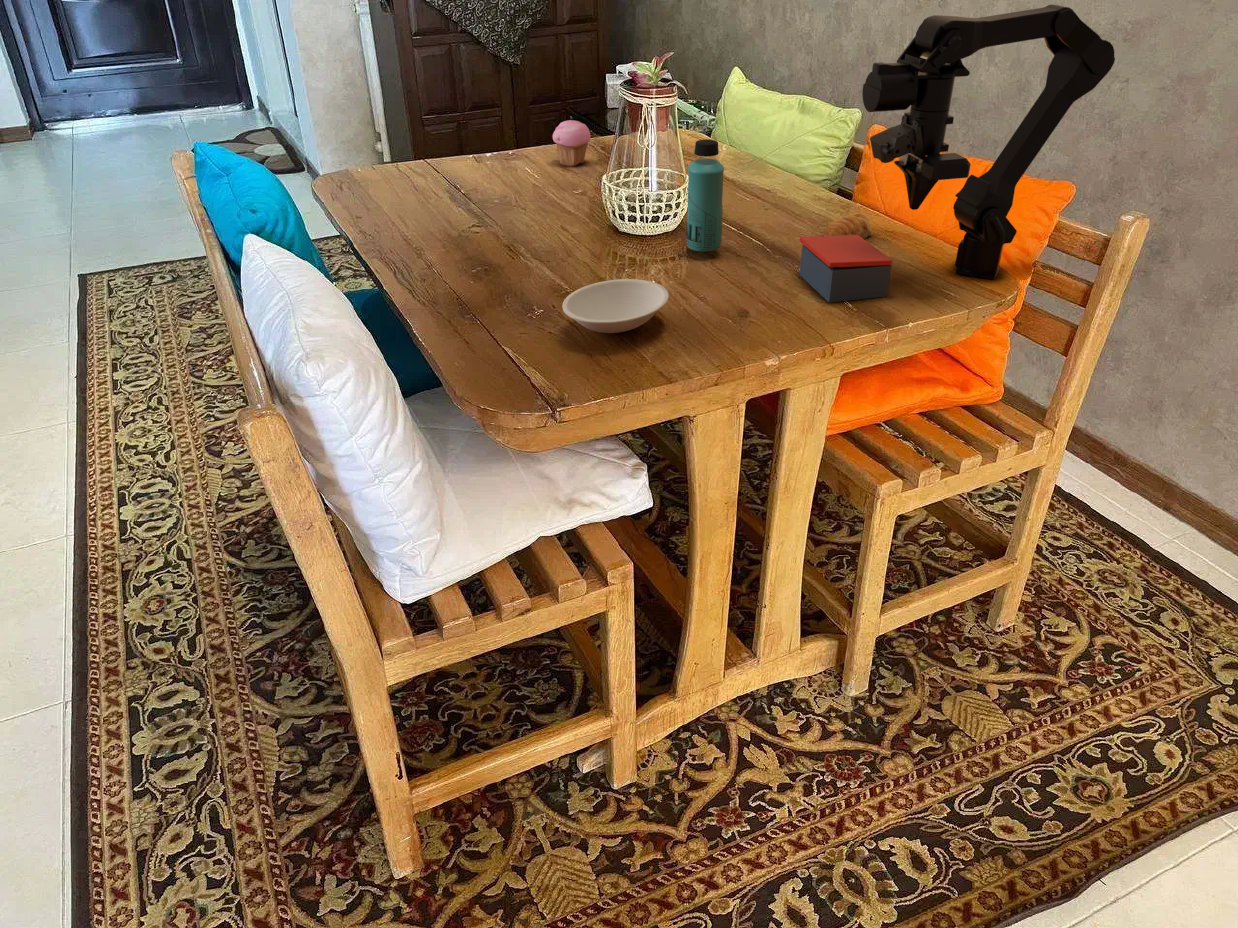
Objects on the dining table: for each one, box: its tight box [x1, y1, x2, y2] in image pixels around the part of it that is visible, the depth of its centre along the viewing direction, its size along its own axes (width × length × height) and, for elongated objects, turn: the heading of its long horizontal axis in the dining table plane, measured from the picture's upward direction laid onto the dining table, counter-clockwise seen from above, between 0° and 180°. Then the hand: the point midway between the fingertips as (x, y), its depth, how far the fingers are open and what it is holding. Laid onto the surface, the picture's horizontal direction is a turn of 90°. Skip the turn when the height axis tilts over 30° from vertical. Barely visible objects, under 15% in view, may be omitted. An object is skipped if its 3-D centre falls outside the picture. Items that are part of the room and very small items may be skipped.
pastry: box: [823, 212, 873, 239], centre depth 172 cm, size 9×7×4 cm
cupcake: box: [552, 119, 592, 167], centre depth 217 cm, size 9×9×10 cm
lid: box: [798, 235, 893, 267], centre depth 150 cm, size 11×13×1 cm
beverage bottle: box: [685, 138, 725, 252], centre depth 161 cm, size 6×7×20 cm
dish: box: [562, 278, 670, 334], centre depth 139 cm, size 18×14×5 cm
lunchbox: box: [798, 244, 892, 303], centre depth 152 cm, size 10×13×5 cm
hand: (913, 209), depth 149 cm, fingers closed
